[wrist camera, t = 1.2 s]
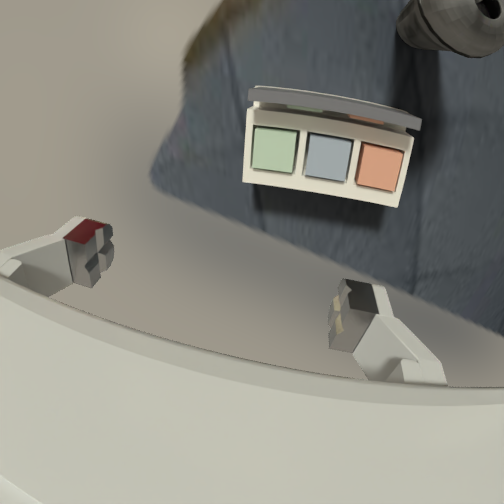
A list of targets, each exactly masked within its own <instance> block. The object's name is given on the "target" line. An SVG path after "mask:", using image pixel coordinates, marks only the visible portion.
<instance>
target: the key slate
mask: <svg viewBox="0 0 504 504" xmlns="http://www.w3.org/2000/svg"><path fill="white" fill-rule="evenodd" d="M350 149H351V141H350V140H349V139H347V138H342V137H336V136H331V135H325V134H319V133H312V132H311V133H310V141H309V149H308V156H307V163H306V171H305V175H309V176H316V177H322V178H328V179H333V180H339V181H345V177H346V171H347V166H348V160H349V155H350Z"/></svg>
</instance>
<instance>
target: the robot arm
mask: <svg viewBox="0 0 504 504" xmlns="http://www.w3.org/2000/svg"><path fill="white" fill-rule="evenodd" d="M112 236H113V230H112V226H111V225H110V224H107V223H104V222H100V221H96V220H92V219H88V218H85V217H80V216H75V217H74V218H72V219H71V220H70V221H69V222H67V223H66V224H65V225H64V226H63V227H61V228H60V229H59V230H57V231H56V232H55V233H54V234H53V235H46V236H42V237H39V238H36V239H33V240H30V241H27V242H24V243H20V244H17V245H15V246H11V247H8V248H5V249H3V250H0V504H504V387H448V385H447V381H446V378H445V374H444V371H443V368H442V365H441V362H440V361H439V360H438V359H437V358H436V357H435V356H434V355H433V354H432V352H430V350H429V349H428V348H427V347H426V346H425V345H424V344H423V343H422V342H421V341H420V340H419V339H418V338H417V337H416V336H415V335H414V334H413V333H412V332H411V331H410V330H409V329H408V328H407V327H406V326H405V325H404V324H403V323H402V322H401V321H400V320H399V319H398V318H394V316H393V312H392V309H391V305H390V302H389V299H388V296H387V293H386V289H385V287H384V286H380V285H374V284H369V283H364V282H358V281H354V280H349V279H344V278H343V279H342V280H341V281H340V284H339V286H338V295H337V296H335V297H334V298H333V300H332V302H331V305H330V309H329V313H328V325H329V326H330V327H331V330H330V332H329V348H330V349H334V350H339V351H345V352H350V353H353V356H354V357H355V359H356V361H357V362H358V364H359V365H360V367H361V369H362V370H363V372H364V373H365V375H366V376H367V378H368V380H363V379H355V378H348V377H340V376H333V375H326V374H320V373H314V372H308V371H302V370H297V369H291V368H286V367H281V366H276V365H271V364H266V363H261V362H257V361H252V360H247V359H243V358H239V357H234V356H230V355H226V354H222V353H218V352H213V351H210V350H206V349H202V348H198V347H195V346H191V345H187V344H183V343H180V342H176V341H173V340H169V339H166V338H162V337H159V336H156V335H152V334H149V333H146V332H142V331H140V330H136V329H133V328H130V327H127V326H124V325H121V324H118V323H115V322H112V321H110V320H107V319H104V318H101V317H98V316H96V315H93V314H90V313H87V312H85V311H82V310H79V309H77V308H74V307H72V306H69V305H67V304H64V303H62V302H59V301H57V300H54V299H52V298H49V296H51V295H53V294H55V293H57V292H58V291H60V290H62V289H64V288H66V287H68V286H69V285H71V284H73V283H76V284H79V285H82V286H86V287H89V288H92V287H93V286H94V285H95V284H96V282H97V281H98V280H99V279H100V278H101V275H100V273H101V272H103V271H105V270H107V269H108V268H109V267H110V266H111V263H112V261H113V258H114V245H113V244H112V242H111V241H110V239H111V237H112Z"/></svg>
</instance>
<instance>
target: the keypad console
mask: <svg viewBox="0 0 504 504" xmlns="http://www.w3.org/2000/svg"><path fill="white" fill-rule="evenodd" d="M248 101H254V106H252V107H250V108H248V109H247V120H246V135H245V150H244V166H243V182H247V183H255V184H263V185H270V186H277V187H284V188H291V189H297V190H304V191H310V192H316V193H322V194H328V195H334V196H340V197H345V198H351V199H356V200H362V201H367V202H372V203H377V204H382V205H387V206H392V207H398V203H399V200H400V196H401V192H402V188H403V184H404V180H405V176H406V172H407V168H408V164H409V159H410V155H411V150H412V146H413V141H414V137H412V136H411V135H409V134H408V133H406V132H405V131H406V127H408V128H411V129H415V130H419V131H420V127H421V122H422V119H420V118H418V117H416V116H413V115H411V114H409V113H408V112H406V111H403V110H400V109H397V108H393V107H389V106H385V105H380V104H376V103H372V102H367V101H362V100H357V99H352V98H347V97H342V96H336V95H330V94H324V93H318V92H311V91H304V90H296V89H288V88H279V87H268V86H255V88H250V89H249V92H248ZM258 126H267V127H275V128H284V129H291V130H298V131H297V140H296V149H295V157H294V165H293V170H292V173H290V172H283V171H275V170H268V169H260V168H252V163H253V149H254V136H255V129H256V128H257V127H258ZM311 132H312V133H319V134H325V135H331V136H336V137H342V138H347V139H349V140H350V141H351V149H350V155H349V160H348V166H347V171H346V177H345V181H339V180H333V179H328V178H322V177H316V176H309V175H305V171H306V163H307V156H308V149H309V141H310V133H311ZM362 141H363V142H367V143H372V144H377V145H381V146H386V147H390V148H394V149H398V150H399V151H400V152H401V153H402V154H403V156H402V161H401V165H400V170H399V174H398V178H397V182H396V186H395V190H394V191H390V190H385V189H381V188H376V187H371V186H366V185H361V184H357V181H356V179H355V174H356V169H357V164H358V158H359V153H360V147H361V142H362Z"/></svg>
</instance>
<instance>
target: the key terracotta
mask: <svg viewBox="0 0 504 504" xmlns="http://www.w3.org/2000/svg"><path fill="white" fill-rule="evenodd" d="M402 156H403V154H402V153H401V152H400V151H399V150H398V149H394V148H390V147H386V146H381V145H377V144H372V143H367V142H363V141H362V142H361V147H360V153H359V158H358V164H357V169H356V174H355V179H356V181H357V184H361V185H366V186H371V187H376V188H381V189H385V190H390V191H394V190H395V186H396V182H397V178H398V174H399V170H400V165H401V161H402Z"/></svg>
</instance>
